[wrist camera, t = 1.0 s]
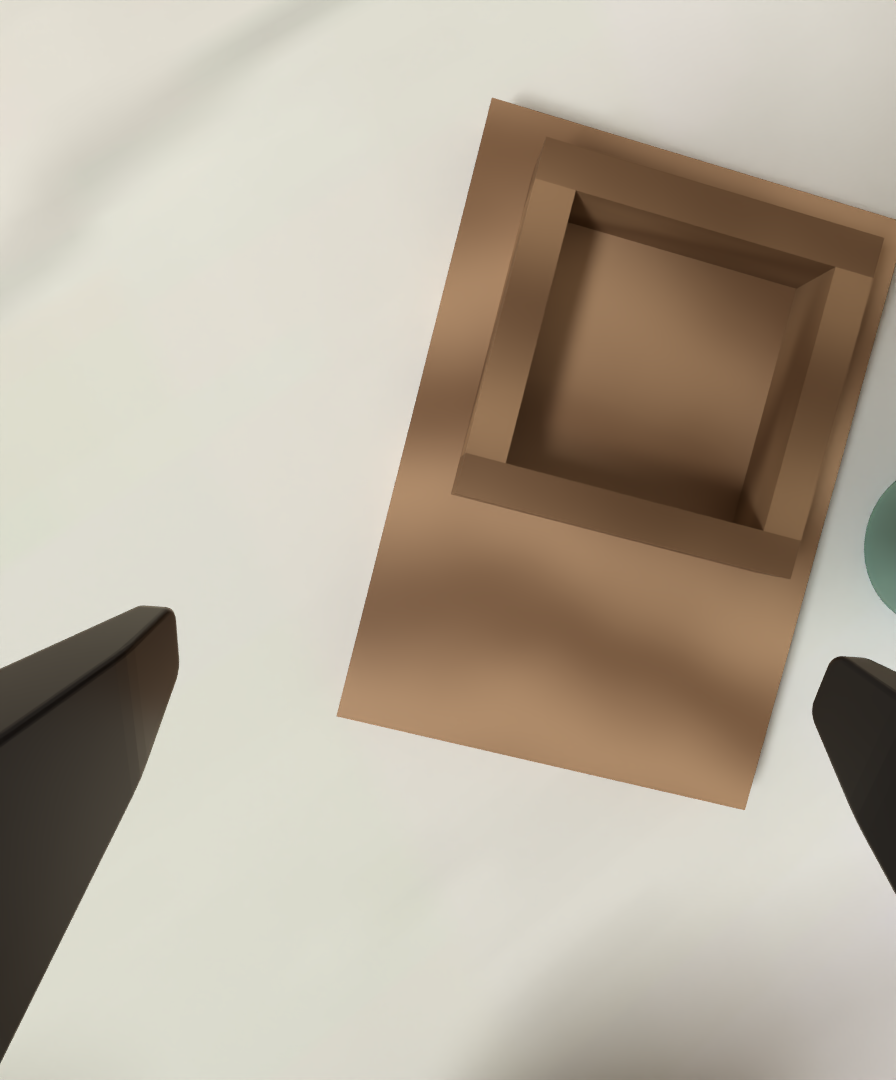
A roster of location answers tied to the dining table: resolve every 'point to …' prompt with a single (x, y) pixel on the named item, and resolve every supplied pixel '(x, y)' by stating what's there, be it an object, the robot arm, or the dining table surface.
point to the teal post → (883, 547)
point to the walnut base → (618, 459)
